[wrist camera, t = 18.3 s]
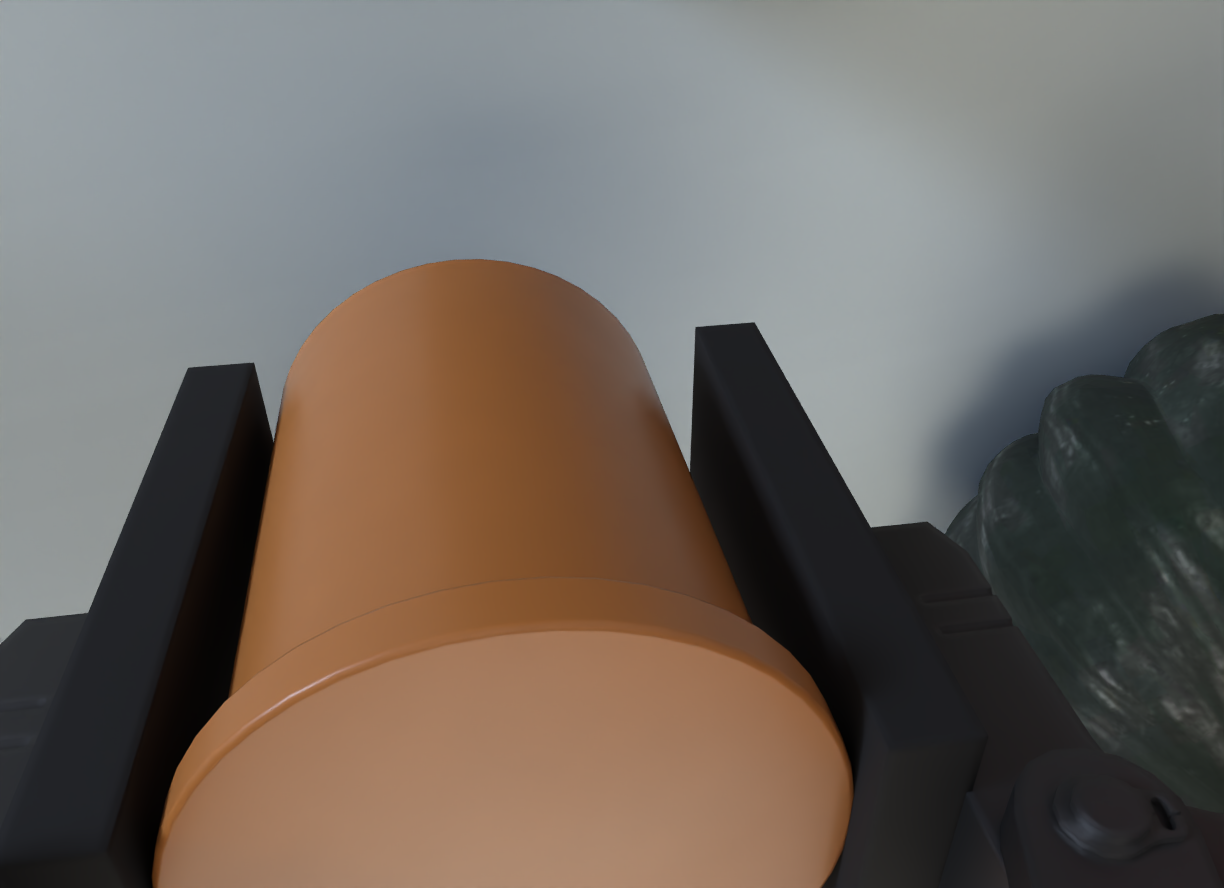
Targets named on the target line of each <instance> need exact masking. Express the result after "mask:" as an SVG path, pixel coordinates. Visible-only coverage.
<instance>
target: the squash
mask: <svg viewBox="0 0 1224 888" xmlns="http://www.w3.org/2000/svg"><path fill="white" fill-rule="evenodd" d="M945 535H946V536H947V537H949V538H950V539H951V540H953V541H954V542H955V543H957V544H958V545H959V546H961V547H962V548H964V549H965V550H966V551H967V552H968V553H969V555H970V556H971V558H972V559H973V561H974V562H975V564H976V565H977V567H978V568H979V570H980V571H981V572H982V574H983V575H984V577H985V578H986V580H987V581H988V583H989V584H990V586H991V587H992V594H993V595H997V596H998V598H999V599H1000V601H1001V602H1002V604H1003V605H1004V607H1005V608H1006V610H1007V611H1008V613H1009V614H1010V616H1011V617H1012V624H1013V626H1018V628H1019V629H1020V631H1021V632H1022V634H1023V635H1024V637H1025V638H1026V639H1027V641H1028V642H1029V644H1030V645H1031V647H1032V648H1033V650H1034V651H1035V653H1036V654H1037V656H1038V657H1039V659H1040V660H1041V662H1042V663H1043V665H1044V666H1045V668H1046V669H1047V671H1048V672H1049V674H1050V675H1051V677H1052V678H1053V680H1054V681H1055V683H1056V684H1057V686H1058V687H1059V689H1060V690H1061V692H1062V693H1063V695H1064V696H1065V698H1066V699H1067V701H1068V702H1069V704H1070V705H1071V706H1072V708H1073V709H1074V711H1075V712H1076V714H1077V715H1078V717H1079V718H1080V720H1081V721H1082V723H1083V724H1084V726H1085V727H1086V729H1087V730H1088V732H1089V733H1090V735H1091V736H1092V738H1093V739H1094V741H1095V742H1096V743H1097V744H1098V745H1099V747H1100V748H1101V749H1102V750H1103V751H1104V753H1109V754H1113V755H1117V756H1120V757H1122V758H1124V759H1126V760H1128V761H1129V762H1131V763H1133V764H1135V765H1137V766H1139V767H1141V768H1143V769H1145V770H1147V771H1149V772H1151V773H1153V774H1154V775H1155V776H1156V777H1157V778H1158V779H1159V780H1161V781H1162V782H1163V783H1164V784H1165V785H1166V786H1167V787H1169V788H1170V789H1171V790H1172V791H1173V792H1174V793H1175V794H1176V795H1178V796H1179V797H1180V798H1181V799H1182V801H1183V802H1184V804H1185V805H1187V806H1191V807H1195V808H1199V809H1203V810H1207V811H1212V812H1216V813H1222V814H1224V314H1214V315H1210V316H1207V317H1204V318H1201V319H1198V320H1195V321H1192V322H1189V323H1186V324H1183V325H1179V326H1176V327H1172V328H1170V329H1168V330H1166V331H1164V332H1162V333H1161V334H1159V335H1158V336H1157V337H1155V338H1154V339H1153V340H1151V341H1150V342H1149V343H1148V344H1146V345H1145V346H1144V347H1143V348H1142V349H1141V350H1140V352H1139V353H1138V354H1137V355H1136V356H1135V358H1134V359H1133V360H1132V361H1131V362H1130V364H1129V366H1128V369H1127V371H1126V373H1125V377H1124V378H1122V377H1114V376H1106V375H1086V376H1080V377H1077V378H1075V379H1073V380H1070V381H1068V382H1066V383H1064V384H1062V385H1060V386H1058V387H1056V388H1054V389H1053V391H1052V392H1051V393H1050V394H1049V396H1048V397H1047V398H1046V400H1045V403H1044V407H1043V410H1042V414H1041V419H1040V425H1039V431H1038V433H1035V434H1030V435H1027V436H1025V437H1023V438H1021V439H1018V440H1016V441H1014V442H1013V443H1011V444H1010V445H1009V446H1007V447H1006V448H1004V449H1003V450H1002V451H1001V452H1000V453H999V454H998V455H997V456H996V457H995V458H994V459H993V460H992V461H991V462H990V463H989V465H988V467H987V469H986V471H985V473H984V475H983V477H982V479H981V481H980V483H979V491H978V495H977V496H976V497H975V498H973V499H972V500H970V501H969V502H968V503H967V504H966V506H965V507H964V508H963V509H962V510H961V511H960V512H959V513H958V514H957V516H956V517H955V519H954V520H953V522H952V523H951V525H950V526H949V528H948V529H947V531H946V534H945Z"/></svg>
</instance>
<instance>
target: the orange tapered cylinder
mask: <svg viewBox="0 0 1224 888" xmlns="http://www.w3.org/2000/svg"><path fill="white" fill-rule="evenodd" d="M853 797H854V785H853V775H852V766H851V761H850V758H849V755H848V753H847V750H846V747H845V744H844V741H843V738H842V736H841V733H840V731H839V729H838V727H837V725H836V722H835V720H834V718H833V716H832V714H831V712H830V709H829V707H828V705H827V703H826V701H825V699H824V697H823V695H822V694H821V692H820V690H819V689H818V687H817V685H816V684H815V682H814V680H813V679H812V677H811V675H810V674H809V673H808V672H807V671H806V670H805V668H804V667H803V666H802V665H801V664H800V663H799V662H798V661H797V660H796V658H795V657H794V656H793V655H792V654H791V653H790V652H789V651H788V650H787V649H785V648H784V647H783V646H782V645H780V644H779V643H778V642H776V641H775V640H774V639H773V638H771V637H770V636H769V635H767V634H766V633H765V632H764V631H762V630H761V629H760V628H758V627H757V626H755V625H753V624H752V621H751V619H750V616H749V614H748V612H747V609H746V607H745V604H744V602H743V600H742V597H741V595H740V592H739V590H738V587H737V585H736V583H735V580H734V578H733V575H732V573H731V571H730V568H729V566H728V563H727V561H726V559H725V556H724V554H723V551H722V549H721V546H720V544H719V542H718V539H717V537H716V534H715V532H714V530H713V527H712V525H711V522H710V520H709V517H708V515H707V513H706V510H705V508H704V505H703V503H702V501H701V498H700V496H699V493H698V491H697V489H696V486H695V484H694V481H693V479H692V476H691V474H690V472H689V469H688V467H687V464H686V462H685V460H684V457H683V455H682V452H681V450H680V447H679V445H678V443H677V440H676V438H675V435H674V433H673V431H672V428H671V426H670V423H669V421H668V419H667V416H666V414H665V411H664V409H663V406H662V404H661V402H660V399H659V397H658V394H657V392H656V390H655V387H654V385H653V382H652V380H651V377H650V375H649V373H648V370H647V368H646V365H645V363H644V361H643V358H642V356H641V353H640V352H639V350H638V348H637V346H636V345H635V343H634V341H633V339H632V338H631V336H630V334H629V333H628V332H627V331H626V329H625V328H624V327H623V326H622V324H621V323H620V322H619V321H618V319H617V318H616V317H615V316H614V315H613V314H612V313H611V312H610V311H609V310H608V309H607V308H605V307H604V306H603V305H602V304H601V303H600V302H599V301H598V300H596V299H595V298H593V297H592V296H591V295H589V294H588V293H586V292H585V291H583V290H582V289H581V288H579V287H577V286H575V285H573V284H571V283H569V282H567V281H565V280H564V279H562V278H560V277H558V276H555V275H552V274H550V273H547V272H544V271H541V270H539V269H536V268H533V267H528V266H524V265H519V264H515V263H511V262H504V261H494V260H484V259H468V260H449V261H443V262H436V263H429V264H425V265H421V266H417V267H414V268H410V269H406V270H403V271H400V272H397V273H395V274H392V275H390V276H388V277H385V278H383V279H380V280H378V281H376V282H374V283H372V284H370V285H369V286H367V287H365V288H363V289H362V290H360V291H358V292H356V293H355V294H353V295H352V296H350V297H349V298H348V299H347V300H345V301H344V302H343V303H341V304H340V305H339V306H337V307H336V308H335V309H333V310H332V311H331V312H330V313H329V314H328V315H327V316H326V317H325V318H324V319H323V320H322V321H321V322H320V324H319V325H318V326H317V327H316V328H315V329H314V330H313V332H312V333H311V334H310V336H309V337H308V338H307V340H306V341H305V343H304V344H303V345H302V347H301V348H300V350H299V352H298V354H297V356H296V358H295V360H294V362H293V364H292V366H291V368H290V371H289V373H288V376H287V379H286V382H285V385H284V388H283V394H282V399H281V405H280V410H279V416H278V422H277V427H276V433H275V438H274V444H273V450H272V455H271V461H270V466H269V472H268V478H267V483H266V489H265V494H264V500H263V505H262V511H261V517H260V522H259V528H258V533H257V539H256V545H255V550H254V556H253V561H252V567H251V573H250V578H249V584H248V589H247V595H246V601H245V606H244V612H243V617H242V623H241V629H240V634H239V640H238V645H237V651H236V656H235V662H234V668H233V673H232V679H231V684H230V690H229V696H228V699H227V700H226V701H225V702H224V703H223V705H222V706H221V707H220V708H219V709H218V710H217V712H216V713H215V714H214V715H213V716H212V718H211V719H210V720H209V721H208V722H207V724H206V725H205V726H204V727H203V728H202V729H201V731H200V732H199V733H198V734H197V735H196V737H195V738H194V740H193V742H192V743H191V745H190V747H189V748H188V750H187V752H186V754H185V755H184V757H183V759H182V760H181V762H180V764H179V765H178V767H177V769H176V772H175V775H174V777H173V780H172V783H171V786H170V789H169V791H168V794H167V797H166V800H165V804H164V809H163V813H162V818H161V822H160V827H159V831H158V836H157V840H156V845H155V852H154V860H153V867H152V875H151V879H152V888H822V886H823V885H824V884H825V882H826V881H827V879H828V878H829V876H830V875H831V873H832V871H833V869H834V867H835V865H836V863H837V861H838V859H839V857H840V855H841V853H842V850H843V848H844V844H845V839H846V835H847V830H848V825H849V820H850V815H851V809H852V803H853Z"/></svg>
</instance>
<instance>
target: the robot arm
mask: <svg viewBox="0 0 1224 888" xmlns="http://www.w3.org/2000/svg"><path fill="white" fill-rule="evenodd" d="M273 444H274V442H273V438H272V434H271V430H270V426H269V422H268V418H267V414H266V410H265V405H264V401H263V397H262V393H261V389H260V385H259V381H258V377H257V373H256V369H255V365H254V363H243V364H230V365H218V366H205V367H193V368H188V369H187V372H186V374H185V377H184V379H183V382H182V384H181V387H180V389H179V392H178V394H177V396H176V399H175V401H174V404H173V406H172V409H171V411H170V414H169V416H168V419H167V421H166V423H165V426H164V428H163V431H162V433H161V436H160V438H159V441H158V443H157V446H156V448H155V450H154V453H153V455H152V458H151V460H150V463H149V465H148V468H147V470H146V472H145V475H144V477H143V480H142V482H141V485H140V487H139V490H138V492H137V495H136V497H135V499H134V502H133V504H132V507H131V509H130V512H129V514H128V517H127V519H126V522H125V524H124V526H123V529H122V531H121V534H120V536H119V539H118V541H117V544H116V546H115V548H114V551H113V553H112V556H111V558H110V561H109V563H108V566H107V568H106V571H105V573H104V575H103V578H102V580H101V583H100V585H99V588H98V590H97V593H96V595H95V598H94V600H93V602H92V605H91V607H90V610H89V612H88V613H84V614H75V615H66V616H56V617H47V618H37V619H28V620H25V621H24V622H23V623H22V624H21V625H20V626H19V627H18V628H17V629H16V630H15V631H14V632H13V633H12V634H11V635H10V636H9V637H8V638H7V639H5V640H4V641H3V642H2V643H1V644H0V888H152V879H151V875H152V867H153V860H154V852H155V845H156V840H157V836H158V831H159V827H160V822H161V818H162V813H163V809H164V804H165V800H166V797H167V794H168V791H169V789H170V786H171V783H172V780H173V777H174V775H175V772H176V769H177V767H178V765H179V764H180V762H181V760H182V759H183V757H184V755H185V754H186V752H187V750H188V748H189V747H190V745H191V743H192V742H193V740H194V738H195V737H196V735H197V734H198V733H199V732H200V731H201V729H202V728H203V727H204V726H205V725H206V724H207V722H208V721H209V720H210V719H211V718H212V716H213V715H214V714H215V713H216V712H217V710H218V709H219V708H220V707H221V706H222V705H223V703H224V702H225V701H226V700H227V699H228V696H229V690H230V684H231V679H232V673H233V668H234V662H235V656H236V651H237V645H238V640H239V634H240V629H241V623H242V617H243V612H244V606H245V601H246V595H247V589H248V584H249V578H250V573H251V567H252V561H253V556H254V550H255V545H256V539H257V533H258V528H259V522H260V517H261V511H262V505H263V500H264V494H265V489H266V483H267V478H268V472H269V466H270V461H271V455H272V450H273ZM690 474H691V476H692V479H693V481H694V484H695V486H696V489H697V491H698V493H699V496H700V498H701V501H702V503H703V505H704V508H705V510H706V513H707V515H708V517H709V520H710V522H711V525H712V527H713V530H714V532H715V534H716V537H717V539H718V542H719V544H720V546H721V549H722V551H723V554H724V556H725V559H726V561H727V563H728V566H729V568H730V571H731V573H732V575H733V578H734V580H735V583H736V585H737V587H738V590H739V592H740V595H741V597H742V600H743V602H744V604H745V607H746V609H747V612H748V614H749V616H750V619H751V621H752V624H753V625H755V626H757V627H758V628H760V629H761V630H762V631H764V632H765V633H766V634H767V635H769V636H770V637H771V638H773V639H774V640H775V641H776V642H778V643H779V644H780V645H782V646H783V647H784V648H785V649H787V650H788V651H789V652H790V653H791V654H792V655H793V656H794V657H795V658H796V660H797V661H798V662H799V663H800V664H801V665H802V666H803V667H804V668H805V670H806V671H807V672H808V673H809V674H810V675H811V677H812V679H813V680H814V682H815V684H816V685H817V687H818V689H819V690H820V692H821V694H822V695H823V697H824V699H825V701H826V703H827V705H828V707H829V709H830V712H831V714H832V716H833V718H834V720H835V722H836V725H837V727H838V729H839V731H840V733H841V736H842V738H843V741H844V744H845V747H846V750H847V753H848V755H849V758H850V761H851V766H852V775H853V785H854V797H853V803H852V809H851V815H850V820H849V825H848V830H847V835H846V839H845V844H844V848H843V850H842V853H841V855H840V857H839V859H838V861H837V863H836V865H835V867H834V869H833V871H832V873H831V875H830V876H829V878H828V879H827V881H826V882H825V884H824V885H823V886H822V888H1224V814H1222V813H1216V812H1212V811H1207V810H1203V809H1199V808H1195V807H1191V806H1187V805H1185V804H1184V802H1183V801H1182V799H1181V798H1180V797H1179V796H1178V795H1176V794H1175V793H1174V792H1173V791H1172V790H1171V789H1170V788H1169V787H1167V786H1166V785H1165V784H1164V783H1163V782H1162V781H1161V780H1159V779H1158V778H1157V777H1156V776H1155V775H1154V774H1153V773H1151V772H1149V771H1147V770H1145V769H1143V768H1141V767H1139V766H1137V765H1135V764H1133V763H1131V762H1129V761H1128V760H1126V759H1124V758H1122V757H1120V756H1117V755H1113V754H1109V753H1104V751H1103V750H1102V749H1101V748H1100V747H1099V745H1098V744H1097V743H1096V742H1095V741H1094V739H1093V738H1092V736H1091V735H1090V733H1089V732H1088V730H1087V729H1086V727H1085V726H1084V724H1083V723H1082V721H1081V720H1080V718H1079V717H1078V715H1077V714H1076V712H1075V711H1074V709H1073V708H1072V706H1071V705H1070V704H1069V702H1068V701H1067V699H1066V698H1065V696H1064V695H1063V693H1062V692H1061V690H1060V689H1059V687H1058V686H1057V684H1056V683H1055V681H1054V680H1053V678H1052V677H1051V675H1050V674H1049V672H1048V671H1047V669H1046V668H1045V666H1044V665H1043V663H1042V662H1041V660H1040V659H1039V657H1038V656H1037V654H1036V653H1035V651H1034V650H1033V648H1032V647H1031V645H1030V644H1029V642H1028V641H1027V639H1026V638H1025V637H1024V635H1023V634H1022V632H1021V631H1020V629H1019V628H1018V626H1013V624H1012V617H1011V616H1010V614H1009V613H1008V611H1007V610H1006V608H1005V607H1004V605H1003V604H1002V602H1001V601H1000V599H999V598H998V596H997V595H993V594H992V587H991V586H990V584H989V583H988V581H987V580H986V578H985V577H984V575H983V574H982V572H981V571H980V570H979V568H978V567H977V565H976V564H975V562H974V561H973V559H972V558H971V556H970V555H969V553H968V552H967V551H966V550H965V549H964V548H962V547H961V546H959V545H958V544H957V543H955V542H954V541H953V540H951V539H950V538H949V537H947V536H946V535H945V534H943V533H942V532H941V531H939V530H938V529H937V528H935V527H934V526H932V525H931V524H930V523H928V522H920V523H910V524H901V525H891V526H882V527H872V528H871V527H870V526H869V524H868V522H867V520H866V519H865V517H864V515H863V513H862V511H861V510H860V508H859V506H858V504H857V503H856V501H855V499H854V497H853V496H852V494H851V492H850V490H849V489H848V487H847V485H846V483H845V481H844V480H843V478H842V476H841V474H840V473H839V471H838V469H837V467H836V466H835V464H834V462H833V460H832V458H831V457H830V455H829V453H828V451H827V450H826V448H825V446H824V444H823V443H822V441H821V439H820V437H819V436H818V434H817V432H816V430H815V428H814V427H813V425H812V423H811V421H810V420H809V418H808V416H807V414H806V413H805V411H804V409H803V407H802V406H801V404H800V402H799V400H798V398H797V397H796V395H795V393H794V391H793V390H792V388H791V386H790V384H789V383H788V381H787V379H786V377H785V376H784V374H783V372H782V370H781V368H780V367H779V365H778V363H777V361H776V360H775V358H774V356H773V354H772V353H771V351H770V349H769V347H768V345H767V344H766V342H765V340H764V338H763V337H762V335H761V333H760V331H759V330H758V328H757V326H756V324H755V323H741V324H729V325H716V326H704V327H696V329H695V355H694V382H693V408H692V434H691V460H690Z"/></svg>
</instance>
